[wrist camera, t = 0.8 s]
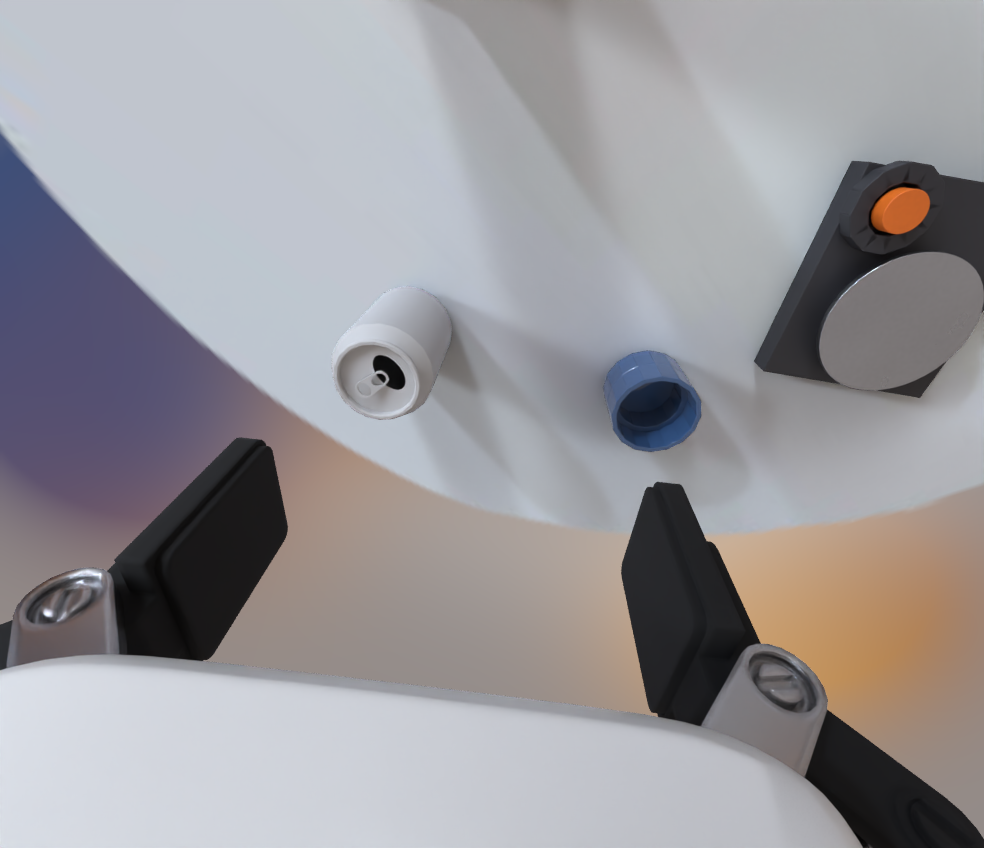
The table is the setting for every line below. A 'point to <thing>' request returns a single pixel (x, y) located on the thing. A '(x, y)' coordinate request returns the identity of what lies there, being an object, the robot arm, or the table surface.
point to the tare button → (900, 210)
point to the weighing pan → (900, 320)
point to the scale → (869, 256)
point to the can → (392, 354)
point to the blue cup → (651, 401)
